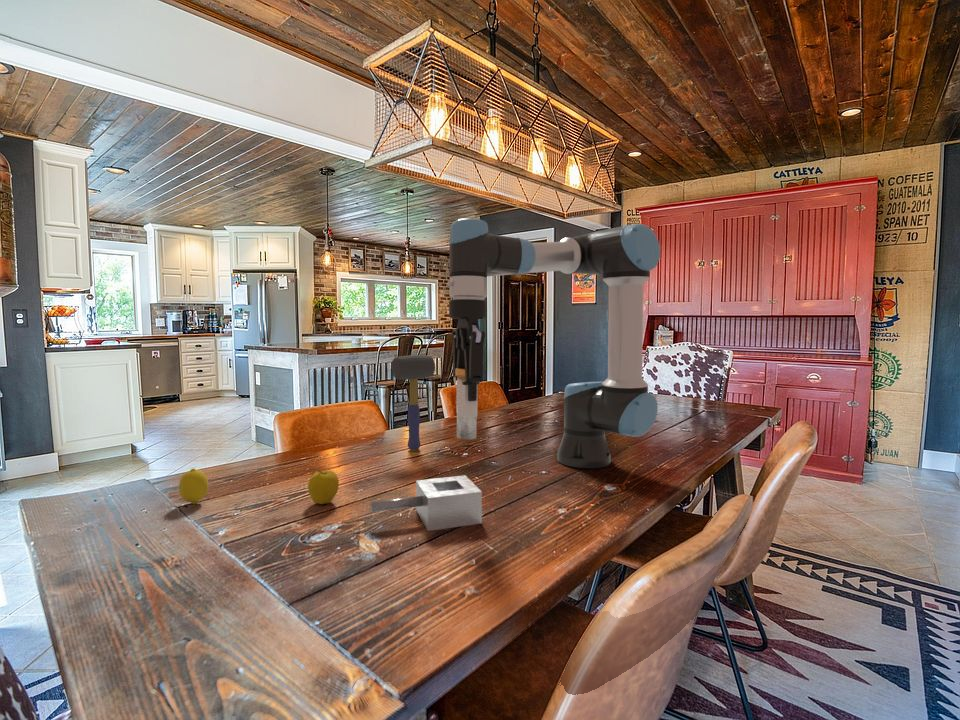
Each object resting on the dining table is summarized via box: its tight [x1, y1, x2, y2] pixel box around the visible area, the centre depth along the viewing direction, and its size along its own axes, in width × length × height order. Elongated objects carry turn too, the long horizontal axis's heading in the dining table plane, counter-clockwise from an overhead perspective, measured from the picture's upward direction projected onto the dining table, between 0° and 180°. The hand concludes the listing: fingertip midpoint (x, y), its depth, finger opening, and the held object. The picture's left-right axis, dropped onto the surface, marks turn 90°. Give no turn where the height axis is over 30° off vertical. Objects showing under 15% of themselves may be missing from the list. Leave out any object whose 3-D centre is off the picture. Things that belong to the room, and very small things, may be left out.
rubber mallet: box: [391, 354, 436, 452], centre depth 151 cm, size 12×8×30 cm, turn 126°
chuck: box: [370, 475, 483, 532], centre depth 98 cm, size 21×11×6 cm, turn 109°
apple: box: [307, 470, 340, 505], centre depth 107 cm, size 6×6×8 cm
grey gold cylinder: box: [455, 368, 478, 440], centre depth 99 cm, size 5×5×14 cm
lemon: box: [178, 468, 209, 505], centre depth 107 cm, size 6×6×8 cm
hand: (466, 414), depth 99 cm, fingers closed on grey gold cylinder, 4 cm apart
